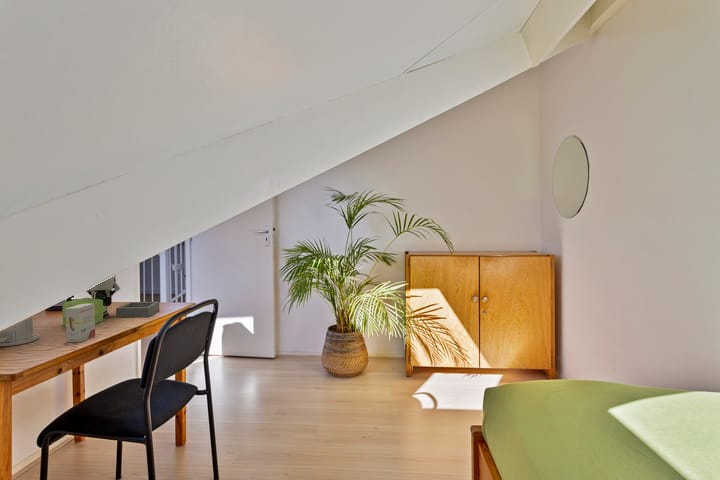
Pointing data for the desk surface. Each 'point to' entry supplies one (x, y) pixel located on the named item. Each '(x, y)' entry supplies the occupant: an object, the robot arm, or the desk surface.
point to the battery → (101, 298)
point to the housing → (137, 309)
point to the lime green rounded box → (97, 303)
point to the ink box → (80, 322)
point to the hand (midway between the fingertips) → (102, 305)
